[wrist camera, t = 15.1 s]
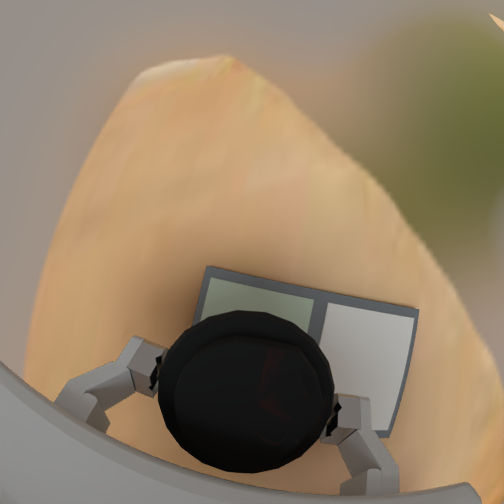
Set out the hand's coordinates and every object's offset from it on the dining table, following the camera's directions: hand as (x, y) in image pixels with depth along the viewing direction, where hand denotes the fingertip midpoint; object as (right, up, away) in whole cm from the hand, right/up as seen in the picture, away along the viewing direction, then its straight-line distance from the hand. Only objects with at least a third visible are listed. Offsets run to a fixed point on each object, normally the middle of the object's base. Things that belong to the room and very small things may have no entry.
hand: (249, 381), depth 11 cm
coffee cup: (0, -2, +8) cm, 8 cm away
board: (+5, -5, +15) cm, 16 cm away
